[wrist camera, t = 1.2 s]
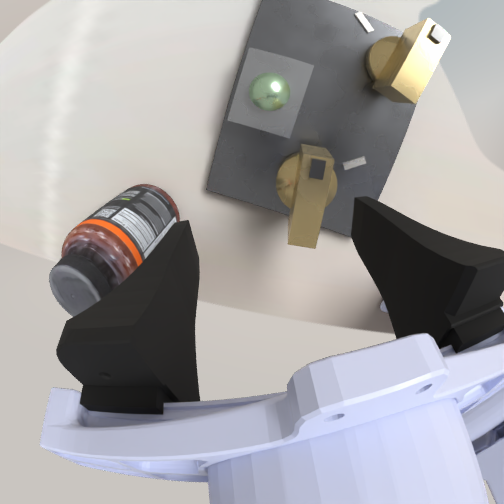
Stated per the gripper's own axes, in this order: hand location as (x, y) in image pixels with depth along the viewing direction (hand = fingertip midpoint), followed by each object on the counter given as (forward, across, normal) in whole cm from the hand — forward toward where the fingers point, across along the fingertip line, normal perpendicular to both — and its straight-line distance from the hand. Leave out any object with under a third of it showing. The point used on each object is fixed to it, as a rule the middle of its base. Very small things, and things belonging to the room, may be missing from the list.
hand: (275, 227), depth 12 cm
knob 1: (+8, -3, +2) cm, 8 cm away
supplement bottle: (+11, +9, +4) cm, 15 cm away
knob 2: (+7, -10, -7) cm, 14 cm away
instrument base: (+9, -5, -3) cm, 11 cm away
